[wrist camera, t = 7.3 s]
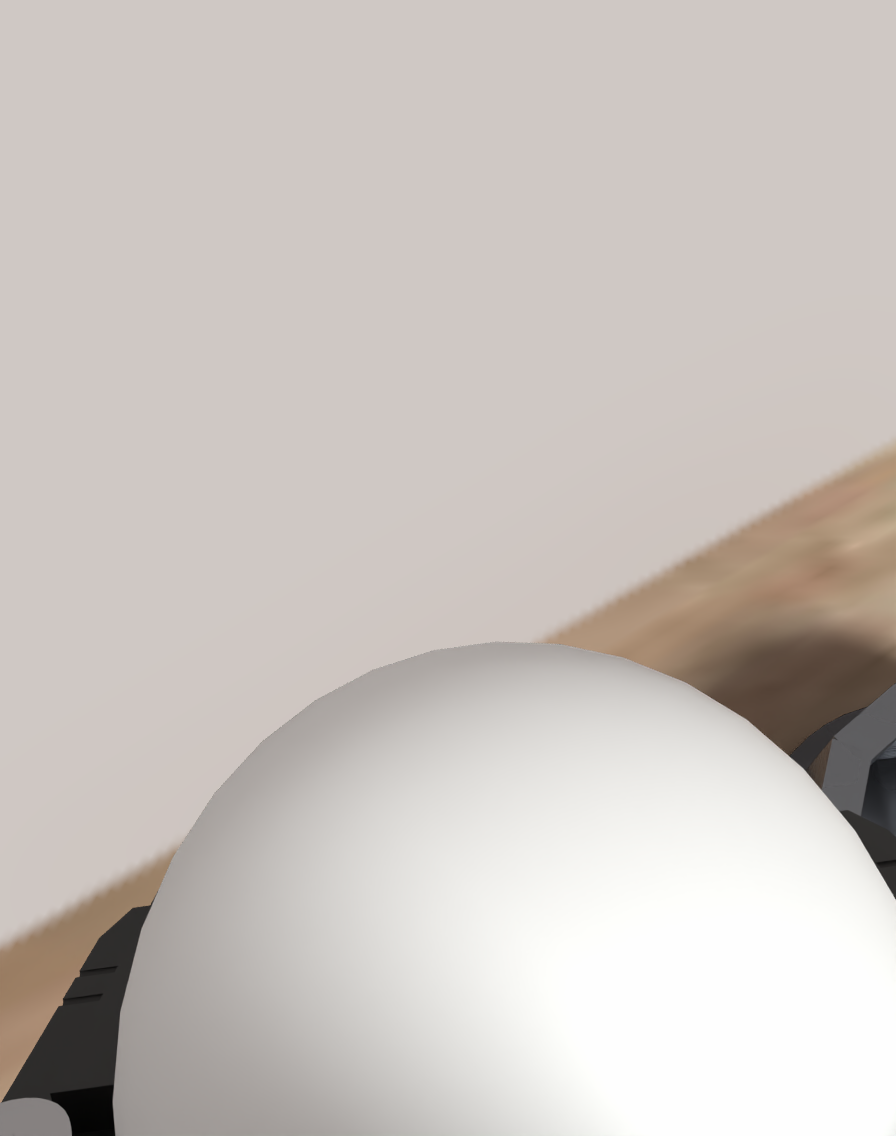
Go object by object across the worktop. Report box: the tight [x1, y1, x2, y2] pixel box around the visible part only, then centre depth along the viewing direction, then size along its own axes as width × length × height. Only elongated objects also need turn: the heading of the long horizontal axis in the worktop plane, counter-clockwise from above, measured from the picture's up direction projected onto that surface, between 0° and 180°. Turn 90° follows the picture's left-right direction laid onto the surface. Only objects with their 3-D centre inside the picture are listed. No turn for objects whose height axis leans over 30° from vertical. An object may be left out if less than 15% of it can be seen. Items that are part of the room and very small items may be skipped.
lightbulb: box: [113, 642, 896, 1136], centre depth 9 cm, size 6×6×11 cm
